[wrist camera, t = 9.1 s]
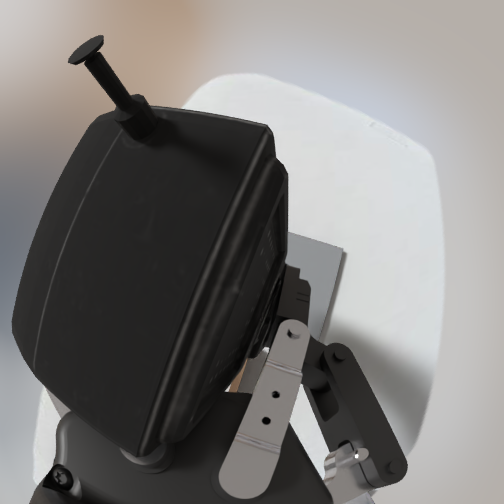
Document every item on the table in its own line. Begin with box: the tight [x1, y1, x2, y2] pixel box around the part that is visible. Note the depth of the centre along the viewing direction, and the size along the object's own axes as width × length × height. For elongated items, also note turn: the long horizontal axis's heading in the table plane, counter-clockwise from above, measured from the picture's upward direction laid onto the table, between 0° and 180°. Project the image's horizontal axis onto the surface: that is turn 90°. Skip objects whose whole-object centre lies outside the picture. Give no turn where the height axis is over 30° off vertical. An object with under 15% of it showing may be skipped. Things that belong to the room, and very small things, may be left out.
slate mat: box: [285, 232, 343, 341], centre depth 39 cm, size 16×14×1 cm
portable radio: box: [12, 35, 288, 457], centre depth 14 cm, size 8×6×25 cm
